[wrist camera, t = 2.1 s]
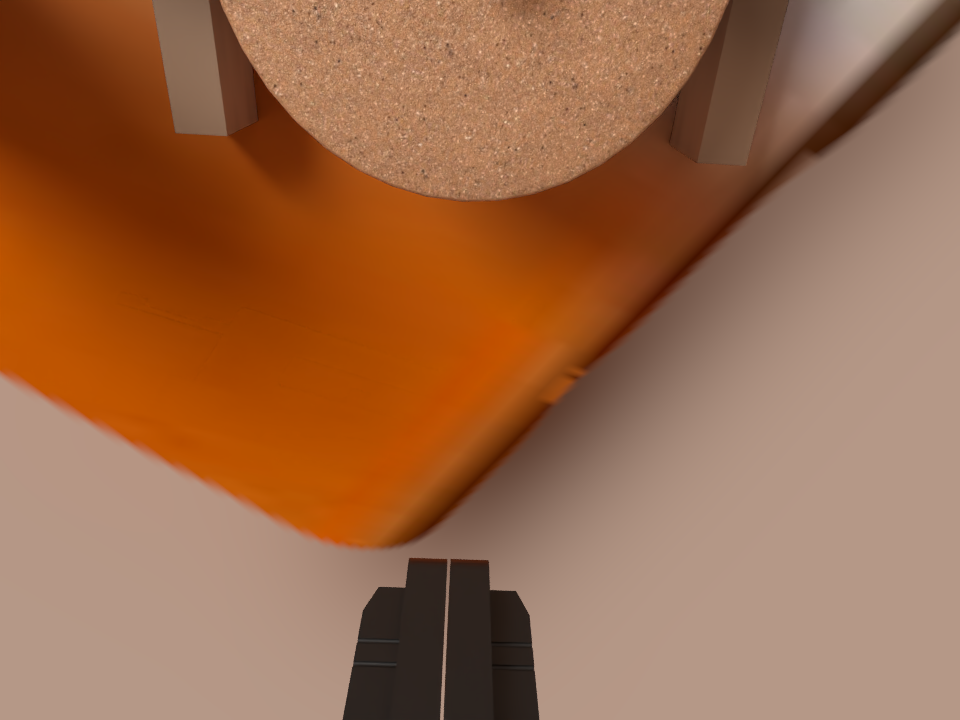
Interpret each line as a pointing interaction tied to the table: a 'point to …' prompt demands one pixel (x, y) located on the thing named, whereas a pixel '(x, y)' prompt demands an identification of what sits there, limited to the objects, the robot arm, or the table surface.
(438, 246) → the table surface
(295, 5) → the lidded jar
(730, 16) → the channel
